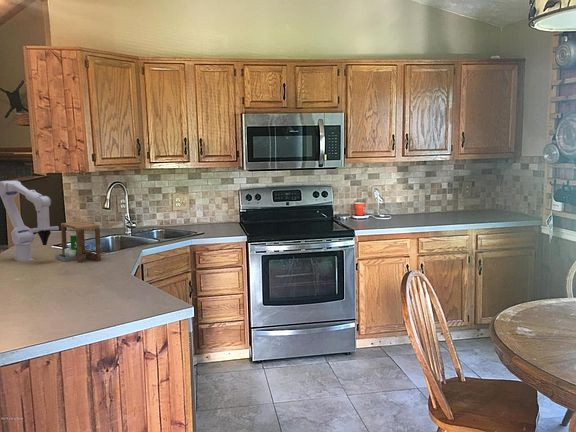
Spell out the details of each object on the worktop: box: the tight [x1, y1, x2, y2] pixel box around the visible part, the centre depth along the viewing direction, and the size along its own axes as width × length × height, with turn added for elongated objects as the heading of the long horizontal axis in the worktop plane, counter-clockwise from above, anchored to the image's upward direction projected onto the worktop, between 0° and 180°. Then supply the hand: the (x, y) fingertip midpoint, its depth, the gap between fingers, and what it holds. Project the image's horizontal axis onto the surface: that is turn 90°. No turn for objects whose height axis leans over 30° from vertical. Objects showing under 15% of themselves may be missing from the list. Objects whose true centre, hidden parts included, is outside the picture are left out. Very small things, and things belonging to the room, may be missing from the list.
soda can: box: [69, 231, 77, 252], centre depth 298 cm, size 8×8×12 cm
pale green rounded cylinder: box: [64, 247, 72, 258], centre depth 280 cm, size 4×4×5 cm
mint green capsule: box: [69, 250, 76, 257], centre depth 277 cm, size 4×4×5 cm
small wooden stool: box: [60, 221, 102, 263], centre depth 280 cm, size 22×12×19 cm, turn 45°
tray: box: [54, 252, 87, 263], centre depth 279 cm, size 12×12×3 cm
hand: (44, 244), depth 269 cm, fingers closed
